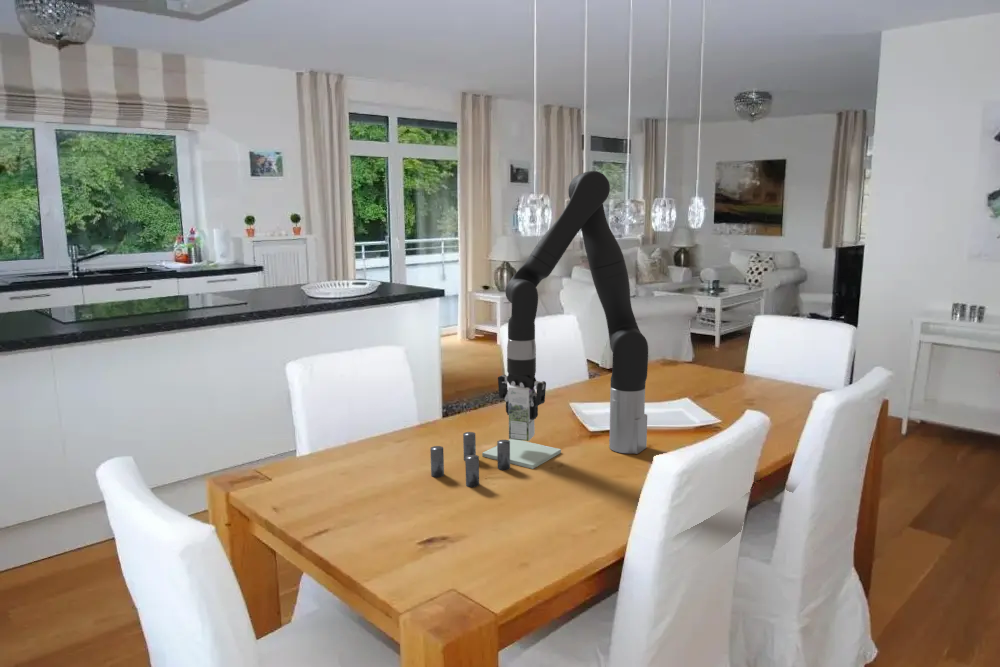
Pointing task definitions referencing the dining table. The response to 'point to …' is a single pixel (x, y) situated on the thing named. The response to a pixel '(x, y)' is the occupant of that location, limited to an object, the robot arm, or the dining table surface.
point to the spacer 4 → (503, 454)
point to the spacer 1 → (437, 461)
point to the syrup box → (520, 414)
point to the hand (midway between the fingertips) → (521, 416)
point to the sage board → (526, 453)
